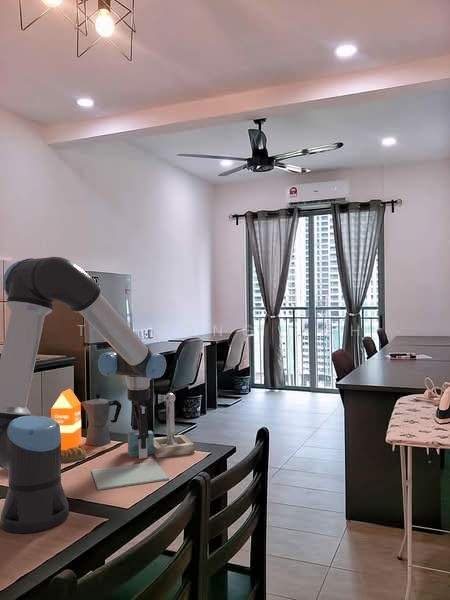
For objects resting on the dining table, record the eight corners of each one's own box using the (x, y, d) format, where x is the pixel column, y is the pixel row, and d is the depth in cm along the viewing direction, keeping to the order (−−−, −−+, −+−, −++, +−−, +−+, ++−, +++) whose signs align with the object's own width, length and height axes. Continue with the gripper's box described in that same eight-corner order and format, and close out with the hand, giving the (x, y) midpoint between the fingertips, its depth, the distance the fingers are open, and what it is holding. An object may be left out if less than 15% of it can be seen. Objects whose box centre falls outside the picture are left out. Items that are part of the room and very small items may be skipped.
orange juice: (51, 450, 170) (50, 393, 170) (61, 442, 179) (59, 388, 179) (73, 449, 170) (72, 392, 170) (82, 442, 179) (80, 388, 179)
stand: (164, 453, 165) (163, 395, 165) (160, 448, 171) (159, 392, 171) (181, 451, 167) (180, 393, 167) (176, 446, 173) (176, 390, 173)
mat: (98, 490, 133) (97, 488, 133) (91, 471, 148) (91, 469, 148) (169, 479, 140) (169, 478, 140) (155, 463, 155) (155, 461, 155)
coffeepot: (75, 446, 175) (75, 395, 175) (85, 438, 184) (84, 391, 184) (118, 446, 174) (117, 396, 174) (125, 439, 183) (124, 391, 183)
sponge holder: (132, 460, 157) (132, 439, 158) (125, 449, 170) (125, 429, 170) (194, 452, 165) (194, 432, 165) (183, 442, 177) (183, 423, 177)
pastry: (60, 465, 155) (60, 453, 155) (52, 460, 160) (52, 448, 160) (88, 458, 161) (88, 447, 161) (79, 454, 166) (79, 443, 166)
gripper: (157, 392, 156) (158, 461, 156) (142, 382, 177) (143, 442, 177) (134, 394, 153) (135, 465, 153) (121, 383, 174) (122, 445, 174)
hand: (139, 453), depth 165 cm, fingers open, 10 cm apart
